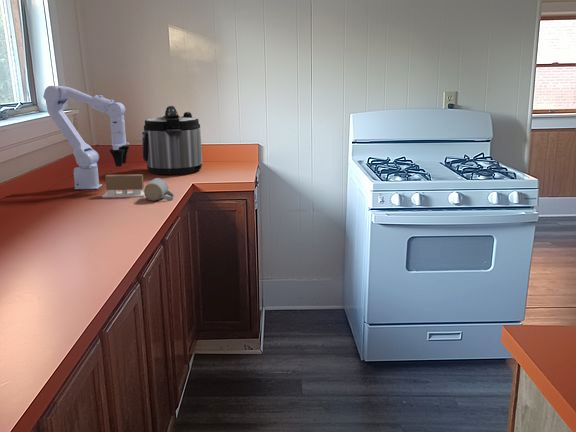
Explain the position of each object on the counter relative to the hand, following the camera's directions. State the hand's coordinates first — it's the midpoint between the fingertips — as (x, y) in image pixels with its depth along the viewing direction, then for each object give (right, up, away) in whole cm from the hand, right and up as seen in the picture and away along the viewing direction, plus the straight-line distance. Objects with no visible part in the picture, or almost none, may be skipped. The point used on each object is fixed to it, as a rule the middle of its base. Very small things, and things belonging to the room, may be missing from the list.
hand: (121, 164), depth 228 cm
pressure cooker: (+13, 0, +41) cm, 43 cm away
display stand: (+5, -13, -11) cm, 18 cm away
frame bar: (+5, -11, -11) cm, 16 cm away
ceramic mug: (+20, -15, -18) cm, 31 cm away
